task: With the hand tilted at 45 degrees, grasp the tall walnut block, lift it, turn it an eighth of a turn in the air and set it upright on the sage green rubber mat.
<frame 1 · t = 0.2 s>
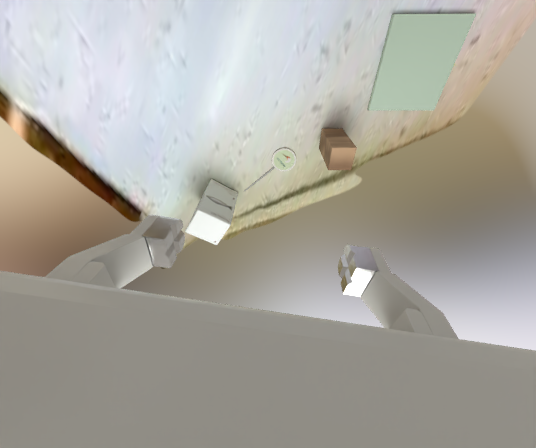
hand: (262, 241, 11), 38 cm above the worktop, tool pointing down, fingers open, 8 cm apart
rubber mat: (413, 67, 37), on the worktop
supplement box: (219, 195, 55), on the worktop
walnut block: (330, 138, 45), on the worktop
sign: (267, 171, 51), on the worktop
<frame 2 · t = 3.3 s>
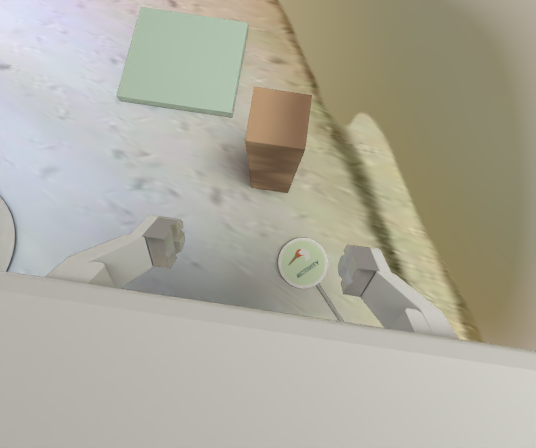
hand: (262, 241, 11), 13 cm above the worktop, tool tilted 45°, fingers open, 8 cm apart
rubber mat: (186, 64, 26), on the worktop
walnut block: (272, 173, 25), on the worktop
sign: (327, 301, 23), on the worktop
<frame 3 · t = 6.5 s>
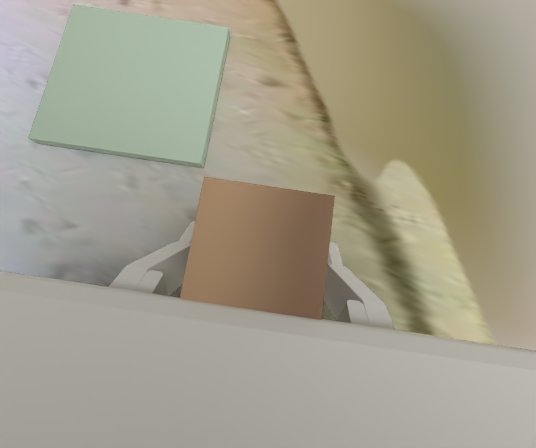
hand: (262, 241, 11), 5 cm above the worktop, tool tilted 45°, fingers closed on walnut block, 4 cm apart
rubber mat: (139, 87, 18), on the worktop
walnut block: (261, 255, 16), on the worktop, touching gripper
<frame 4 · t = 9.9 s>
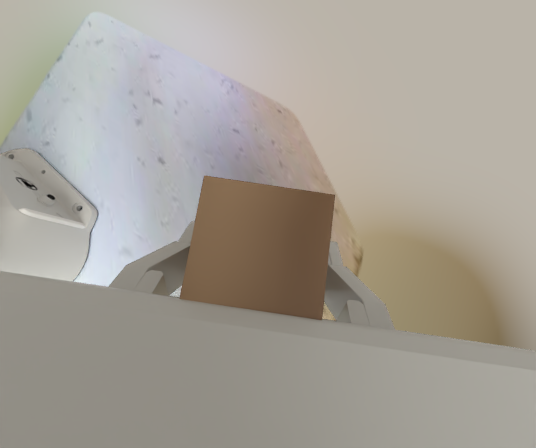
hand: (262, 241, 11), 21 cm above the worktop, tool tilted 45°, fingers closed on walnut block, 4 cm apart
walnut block: (262, 254, 16), point 16 cm above the worktop, touching gripper
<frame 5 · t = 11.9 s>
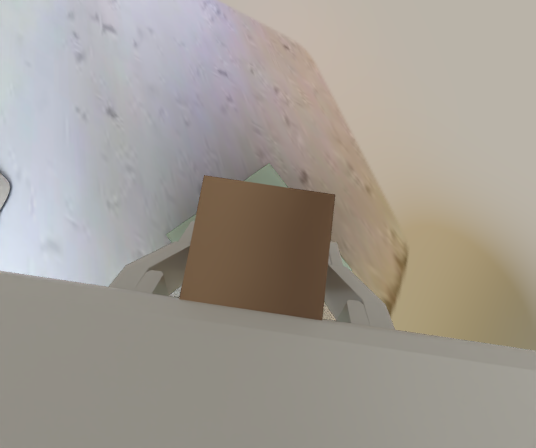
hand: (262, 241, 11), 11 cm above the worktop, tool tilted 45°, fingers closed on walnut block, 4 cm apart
rubber mat: (259, 252, 21), on the worktop
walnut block: (262, 254, 16), point 5 cm above the worktop, touching gripper
when the fingers open (7 cm above the worktop, at t = 13.4 s): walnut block drops 1 cm, resting on rubber mat.
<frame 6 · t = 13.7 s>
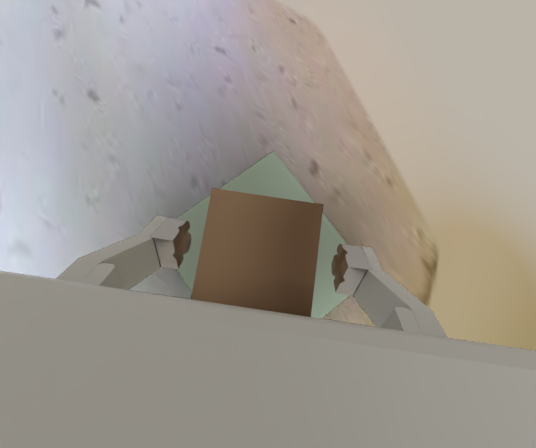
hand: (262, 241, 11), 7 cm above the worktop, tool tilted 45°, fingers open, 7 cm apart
rubber mat: (262, 255, 18), on the worktop
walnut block: (261, 255, 17), point 1 cm above the worktop, touching rubber mat
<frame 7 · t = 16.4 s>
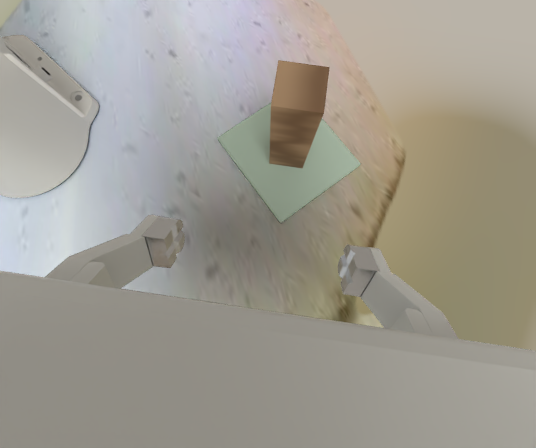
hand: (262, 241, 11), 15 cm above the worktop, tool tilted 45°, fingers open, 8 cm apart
rubber mat: (287, 154, 28), on the worktop
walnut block: (288, 150, 27), point 1 cm above the worktop, touching rubber mat
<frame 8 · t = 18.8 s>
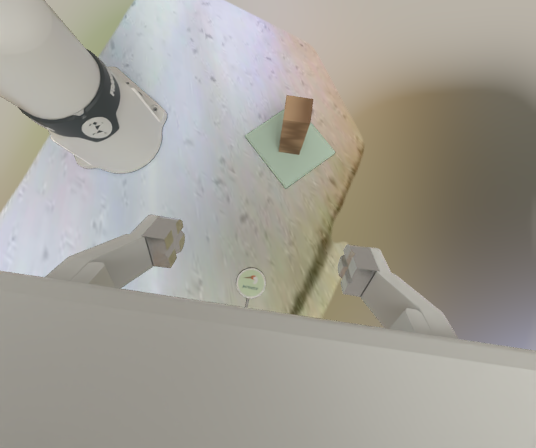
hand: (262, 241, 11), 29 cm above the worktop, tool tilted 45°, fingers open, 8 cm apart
rubber mat: (289, 145, 43), on the worktop
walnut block: (290, 143, 42), point 1 cm above the worktop, touching rubber mat
sign: (245, 310, 39), on the worktop
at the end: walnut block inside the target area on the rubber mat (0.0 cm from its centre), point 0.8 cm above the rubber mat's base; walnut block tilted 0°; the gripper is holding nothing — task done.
